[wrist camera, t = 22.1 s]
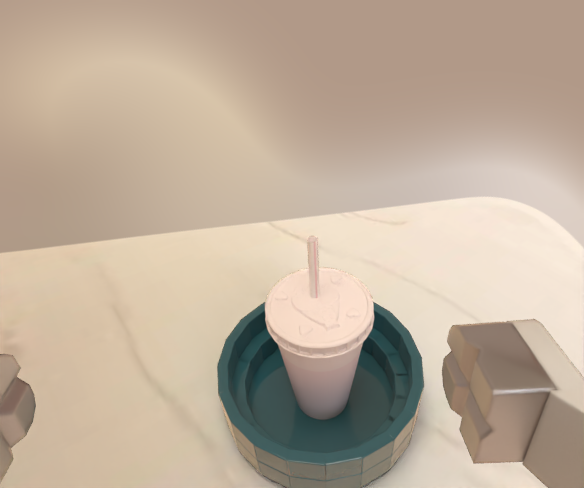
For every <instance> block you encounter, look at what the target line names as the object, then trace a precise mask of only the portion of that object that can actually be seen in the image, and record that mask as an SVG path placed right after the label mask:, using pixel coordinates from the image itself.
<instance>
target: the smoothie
mask: <svg viewBox="0 0 584 488" xmlns="http://www.w3.org/2000/svg"><path fill="white" fill-rule="evenodd" d="M307 245H308V264H309V268H306V269H302V270H298V271H295V272H293V273H290V274H289V275H287V276H285V277H283V278H282V279H281V280H279V281H278V282H277V283H276V284H275V285H274V286H273V287H272V289H271V290H270V292H269V294H268V296H267V298H266V302H265V314H266V316H265V321H266V325H267V329H268V332H269V333H270V335H271V336H272V338H273V339H274V341H275V342H276V343H277V344H278V347H279V349H280V352H281V355H282V358H283V361H284V364H285V367H286V370H287V373H288V376H289V379H290V382H291V385H292V388H293V391H294V394H295V397H296V400H297V403H298V405H299V407H300V409H301V410H302V411H303V412H304V413H305V414H306V415H308V416H310V417H312V418H315V419H320V420H325V419H331V418H333V417H336V416H337V415H339V414H340V413H341V412H342V411H343V410H344V408H345V407H346V405H347V401H348V398H349V394H350V390H351V386H352V382H353V379H354V375H355V371H356V367H357V363H358V359H359V356H360V352H361V348H362V345H363V342H364V341H365V340H366V338H367V337H368V335H369V333H370V332H371V330H372V327H373V322H374V312H373V311H374V304H373V299H372V296H371V294H370V292H369V290H368V288H367V287H366V286H365V285H364V284H363V283H362V282H361V281H360V280H359V279H357V278H356V277H355V276H353V275H351V274H349V273H347V272H344V271H341V270H338V269H334V268H328V267H319V261H318V238H317V237H316V236H309V237H308V238H307Z"/></svg>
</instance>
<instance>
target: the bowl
mask: <svg viewBox="0 0 584 488" xmlns="http://www.w3.org/2000/svg"><path fill="white" fill-rule="evenodd" d="M373 304H374V311H373V312H374V322H373V327H372V330H371V332H370V333H369V335H368V337H367V338H366V340H365V341H364V342H363V345H362V348H361V352H360V356H359V359H358V363H357V367H356V371H355V375H354V379H353V382H352V386H351V390H350V394H349V398H348V401H347V405H346V407H345V408H344V410H343V411H342V412H341V413H340V414H339V415H337V416H336V417H333V418H331V419H325V420H320V419H315V418H312V417H310V416H308V415H306V414H305V413H304V412H303V411H302V410H301V409H300V407H299V405H298V403H297V400H296V397H295V394H294V391H293V388H292V385H291V382H290V379H289V376H288V373H287V370H286V367H285V364H284V361H283V358H282V355H281V352H280V349H279V347H278V344H277V343H276V342H275V341H274V339H273V338H272V336H271V335H270V333H269V332H268V329H267V325H266V321H265V316H266V314H265V302H264V303H263V304H261V305H260V306H258V307H257V308H256V309H254V310H253V311H252V312H250V313H249V314H248V315H247V316H245V317H244V318H243V319H241V320H240V322H239V323H238V324H237V326H236V327H235V328H234V330H233V331H232V332H231V334H230V335H229V336H228V338H227V339H226V341H225V344H224V347H223V350H222V353H221V356H220V359H219V363H218V367H217V372H218V394H219V398H220V401H221V404H222V407H223V411H224V414H225V417H226V420H227V424H228V427H229V429H230V431H231V434H232V436H233V438H234V441H235V443H236V445H237V448H238V450H239V451H240V453H241V454H242V455H243V456H244V457H245V458H246V459H247V460H248V461H249V462H250V463H251V465H252V466H253V467H254V468H255V469H256V470H257V471H258V472H259V473H260V474H262V475H263V476H265V477H267V478H269V479H271V480H273V481H275V482H277V483H279V484H281V485H283V486H285V487H287V488H360V487H362V486H364V485H366V484H367V483H369V482H371V481H372V480H374V479H376V478H377V477H379V476H380V475H382V474H384V473H385V472H387V471H389V470H390V468H391V467H392V466H393V465H394V463H395V462H396V461H397V459H398V458H399V457H400V456H401V454H402V453H403V452H404V450H405V449H406V448H407V447H408V445H409V442H410V439H411V435H412V432H413V429H414V426H415V422H416V419H417V415H418V410H419V406H420V401H421V397H422V392H423V388H424V379H423V367H422V357H421V355H420V353H419V351H418V349H417V347H416V345H415V343H414V340H413V338H412V336H411V334H410V333H409V331H408V330H407V329H406V328H405V327H404V326H403V325H402V324H401V322H400V321H399V320H398V319H397V318H396V317H395V316H394V315H393V314H392V313H390V311H388V310H386V309H385V308H383V307H381V306H379V305H378V304H376V303H374V302H373Z"/></svg>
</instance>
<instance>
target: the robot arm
mask: <svg viewBox="0 0 584 488" xmlns="http://www.w3.org/2000/svg"><path fill="white" fill-rule="evenodd" d="M447 342H448V344H449V346H450V348H451V352H450V353H449V354H448V355H447V356H446V357H445V358H444V361H443V368H442V377H443V387H444V390H445V394H446V398H447V400H448V403H449V405H450V408H451V409H452V410H453V411H455V412H456V413H457V414H459V415H460V416H461V417H462V421H461V425H460V432H461V434H462V437H463V439H464V442H465V444H466V446H467V449H468V451H469V453H470V456H471V458H472V461H473V463H501V462H523V465H524V466H525V467H526V468H527V469H528V470H529V471H530V472H531V473H533V474H534V475H535V476H536V477H537V478H538V479H539V480H540V481H541V482H542V483H543V484H544V485H546V486H547V487H548V488H584V377H583V376H582V375H581V373H580V372H579V371H578V370H577V368H576V367H575V366H574V364H573V363H572V362H571V361H570V359H569V358H568V357H567V356H566V354H565V353H564V352H563V350H562V349H561V348H560V347H559V345H558V344H557V343H556V342H555V340H554V339H553V338H552V336H551V335H550V334H549V333H548V331H547V330H546V329H545V327H544V326H543V325H542V324H541V323H540V322H539V321H537V320H535V319H529V320H516V321H507V322H492V323H478V324H464V325H453V326H452V327H451V329H450V330H449V334H448V339H447ZM19 371H20V366H19V365H18V363H17V361H16V360H15V358H14V356H13V355H8V354H0V483H1V481H2V479H3V477H4V476H5V474H6V472H7V470H8V468H9V466H10V464H11V462H12V461H13V454H12V450H11V447H13V446H14V445H15V444H16V443H18V442H19V441H20V440H21V439H23V438H24V437H25V436H26V434H27V432H28V430H29V428H30V426H31V424H32V422H33V418H34V412H35V407H36V404H35V398H34V393H33V391H32V389H31V387H30V385H29V384H27V383H26V382H24V381H22V380H21V379H19V378H18V377H17V375H18V373H19Z"/></svg>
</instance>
